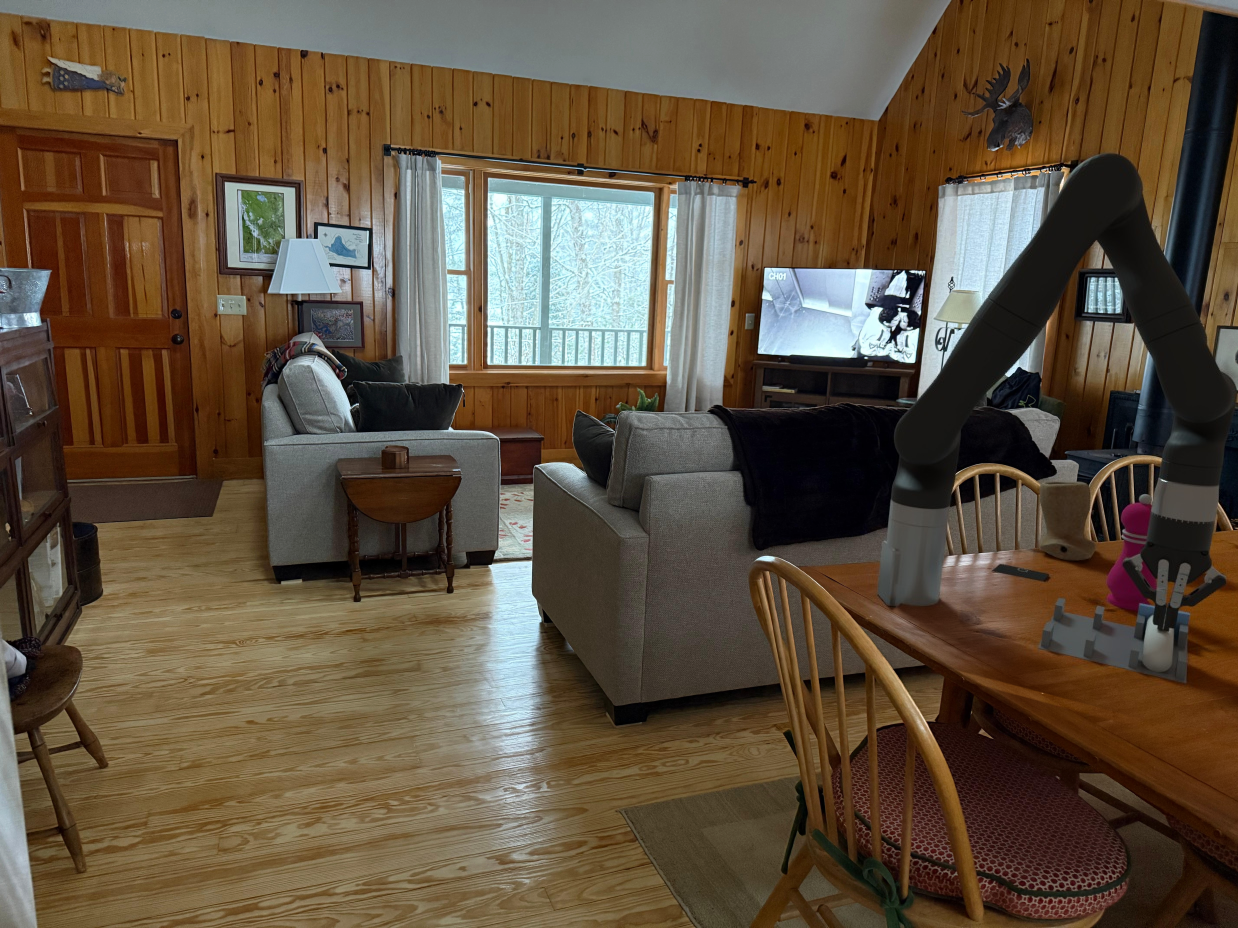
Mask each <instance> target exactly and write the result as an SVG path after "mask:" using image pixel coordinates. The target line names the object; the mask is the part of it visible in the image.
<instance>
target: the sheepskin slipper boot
mask: <svg viewBox="0 0 1238 928" xmlns="http://www.w3.org/2000/svg"><path fill="white" fill-rule="evenodd" d="M1039 503H1040V508H1041V512H1042V515H1043V519H1044V523H1045V528H1046V535H1044V537H1043V538H1042V540H1041V542H1040V545H1039V548H1040V550H1042V551H1043V552H1045V553H1047V554H1048V555H1050V556H1053V557H1055V558H1057V559H1061V560H1065V561H1080V560H1081V561H1083V560H1087V559H1090V558H1092V556H1094V553H1095V551H1096V548H1097V543H1096V542H1095V541H1094V540H1092V539H1088V538H1085V536H1084V533H1085V527H1086V523H1087V519H1088V516H1089V514H1090V513H1089V512H1090V510H1091V489H1090V485H1089V484H1087V483H1086V482H1083V481H1058V480H1057V481H1044V482H1042V483H1041V484H1040V486H1039Z"/></svg>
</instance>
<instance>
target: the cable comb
mask: <svg viewBox="0 0 1238 928" xmlns="http://www.w3.org/2000/svg"><path fill="white" fill-rule="evenodd" d="M1065 604H1066V599H1065V598H1062V597H1061V598H1060V597H1058V598H1057V601H1056V602H1055V604H1054V611H1053V615H1052V617H1051V619H1050V621H1047V622H1046V623H1045V625H1044V627H1043V630H1042V633H1041V634H1042V635H1041V640H1040V643H1039V644H1038V646H1037V649H1039V650H1043V651H1048V652H1052V653H1056V654H1061V655H1065V656H1069V657H1072V658H1073V657H1074V658H1078V659H1080V660H1081V659H1082V660H1086V661H1090V662H1094V663H1099V664H1101V665H1102V664H1103V665H1108V666H1111V667H1116V668H1119V669H1124V670H1128V671H1131V672H1136V673H1140V674H1143V675H1144V674H1145V675H1149V676H1154V677H1158V678H1162V679H1166V680H1169V681H1175V682H1178V683H1182V684H1187V677H1188V676H1187V671H1188V656H1189V655H1188V633H1189V622H1190V617H1191V613H1190V612H1186V611H1182V610H1181V611H1180V610H1179V611H1178V617H1177V622H1176V626H1175V628H1174V639H1173V656H1172V665H1171V667H1170V668H1169V669H1168V670H1166V671H1164V672H1155V671H1151V670H1149V669H1148V668H1147V667H1145V665H1144V664H1143V662H1142V652H1143V646H1144V639H1145V632H1146V626H1147V620H1148V618H1149V617H1150V616H1151V615H1154V609H1155V605H1151V604H1150V605H1147V604H1141V603H1140V604H1139V610H1138V612H1137V616H1136V623H1135V626H1130V625H1126V624H1123V623H1122V624H1120V623H1117V622H1112V621H1109V620H1108V621H1107V620H1104V619H1103V618H1104V615H1105V614H1104V613H1105V608H1106V607H1104V606H1100V605H1097V606H1096V609H1095V610H1094V611H1095V612H1094V617H1089V616H1084V615H1080V614H1079V615H1078V614H1075V613H1069V612H1065ZM1166 609H1167V608H1166ZM1165 615H1166V614H1165Z"/></svg>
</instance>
